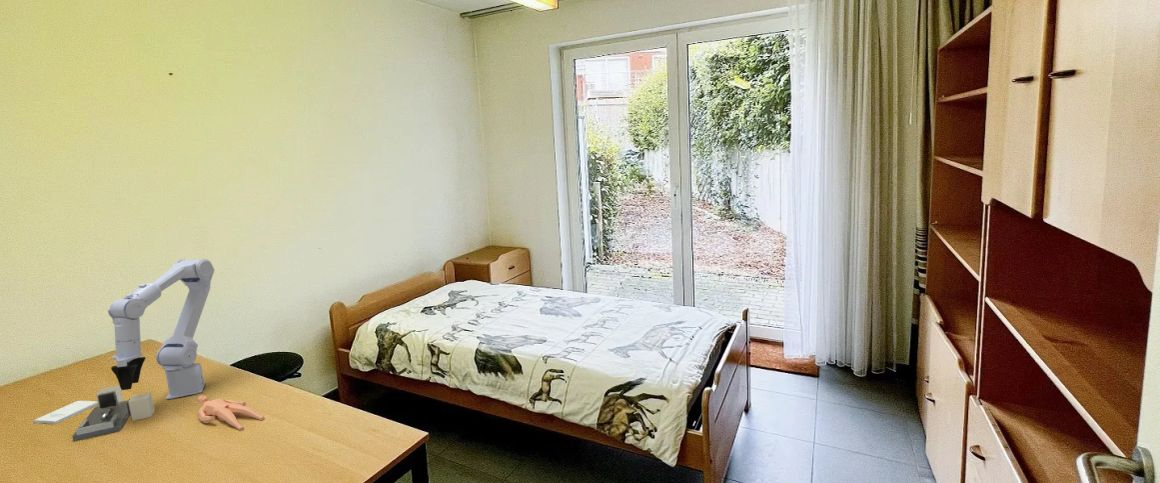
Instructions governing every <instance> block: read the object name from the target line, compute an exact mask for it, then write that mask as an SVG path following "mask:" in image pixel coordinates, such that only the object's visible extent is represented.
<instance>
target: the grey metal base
mask: <svg viewBox="0 0 1160 483" xmlns="http://www.w3.org/2000/svg"><path fill="white" fill-rule="evenodd" d="M96 399H97V400H96V401H97V402H98V405H97V406H94V407H93V409H92V410H91V411H90V413H89V414H88V416H87V417H86V418H85V419H84V420H82V422H81V423H80V424H79V425H78V427H77V428H76V429H75V432H74V433H73V434H72V436H71V437H72V438H71V439H72V442H77V441H81V440H85V439H84V438H86V439H89V437H90V438H94V437H93V436H95V437H98V435H99V436H104V435H107V434H108V435H109V434H113V433H117V432H120V431H121V429H122V428H123V426H124V424H125V422H126V421H127V420H128V418H129V417H130V416H129V413H128V409H127V404H126V403H127V402H128V400H124V401H123V396H122V390H121V388H120V385H119V384H117V385H113V386H107V387H102V388H99V390H98V392H96ZM103 434H104V435H103Z"/></svg>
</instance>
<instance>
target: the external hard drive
mask: <svg viewBox="0 0 1160 483" xmlns="http://www.w3.org/2000/svg"><path fill="white" fill-rule="evenodd" d="M97 406H99V405H98V400H96V401H95V400H94V401H93V400H92V401H91V400H77V401H73V402H72V403H70V404H67V405H65V406H63V407H61V408H58V409H56V410H54V411H51V412H49V413H46V414H45V415H42V416H40V417H38V418H36V419H33V420H32V423H33V424H46V425H57V424H59V423H61V422H63V421H66V420H68V419H70V418H72V417H74V416H77V415H78V414H81V413H83V412H85V411H88V410H90V409H92V408H95V407H97Z"/></svg>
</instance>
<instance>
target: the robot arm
mask: <svg viewBox="0 0 1160 483" xmlns="http://www.w3.org/2000/svg"><path fill="white" fill-rule="evenodd" d="M214 273H215V268H214V265H213V264H212V262H211V260H209V259H206V258H203V259H179V260H177V261H176V262H174V263H172V264H171V268H169V269H168V270H167V271H166V272H165V273H163V274H161V276H159V277H158V278H157V279H156V280H154V281H153V282H152V283H151V282H146V283H140V284H139V285H138V287H137V288H136V289H135V290H133V291H132V292H131V293H127V294H126V295H125V297H124V298H123V299H121V298H119V299H116V300H115V301H113V302H112V303H111V304H110V306H109V309H108V310H107V314H108V316H109V317H110V318H111V319H112V324H113V325H114V326H113V327H114V338H115V339H114V342H115V344H114V345H115V355H112V356H111V357H110V360H115V361H116V365H113V366H111V369H110V370H111V371H112V372H113V373H114V374H113V375H115V377H116V379H117V381H118V385H120V390H121V391H127V390H128V391H129V390H131V389H132V387H133V384H137V383H139V382H140V381H139V380H140V376H141V370H142V368H143V365H144V363H145V360H146V358H147V357H145V356H143V353H142V346H141V345H142V343H141V322H140V318H142V316H143V315H144V314H145V311H146V309H147V308H148V307H149V306H150V305H153V303H154V302H155V301H157V300H159V298H161V297H162V292H163V291H165V290H166V289H168V288H169V287H170V286H172V285H174V284H175V283H177V282H178V281H180V282H181V283H183V285H184V286H186V287H187V289H188V293H187V296H186V298H185V301H184V304H183V306H182V309H181V312H180V315H179V317H178V320H177V323H176V326H175V327H174V328H175V329H174V331H173V333H172V336H170V337H169V338H167V339H166V340H164V341H163V344H162V346H161V347H160V348H159V349H158V350H157V352H156V356H155V360H156V363H157V364H158V365H159V366H161V367H162V370H164V375H165V378H166V383H167V389H168V393H167V396H166V399H165V400H172V399H177V398H182V397H186V396H191V395H195V394H197V395H198V394H200V393H202V392H203V390H204V389H205V388H204V387H205V385H206V383H205V379H204V373H203V367H202V364H201V363H200V362H197V363H195V361H196V359H197V356H198V355H197V354H198V353H197V351H198V350H197V349H198V346H199V344H198V343H197V342H196V341H195V340H194V339H193V338H194V337H195V333H196V330H197V327H198V324H199V322H200V318H201V316H202V312H203V310H204V307H205V305H206V302H207V299H208V296H209V294H210V292H211V291H210V290H211V283H212V282H211V281H212V279H213V276H214Z"/></svg>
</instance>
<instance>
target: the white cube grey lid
mask: <svg viewBox="0 0 1160 483" xmlns="http://www.w3.org/2000/svg"><path fill="white" fill-rule="evenodd" d="M127 401H128V402H127V403H126V404H127V409H128V413H129V417H131V422H135V421H138V420H144V419H149V418H152V416H154V413H155V406H154V401H153V397H152V392H146V393H140V394H136V395H131V397H130V398H129V399H128V400H127Z"/></svg>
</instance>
